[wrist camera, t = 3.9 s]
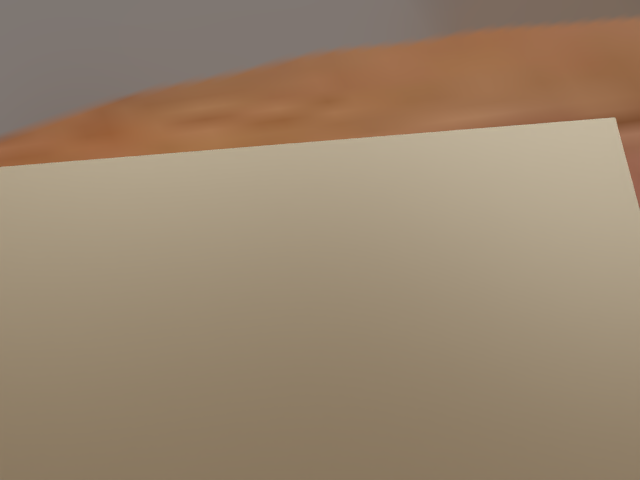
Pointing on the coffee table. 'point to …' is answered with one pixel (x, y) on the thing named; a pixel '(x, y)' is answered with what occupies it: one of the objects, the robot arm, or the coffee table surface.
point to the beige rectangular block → (326, 311)
